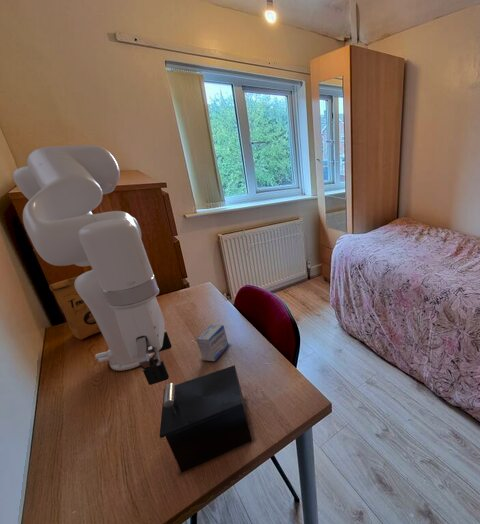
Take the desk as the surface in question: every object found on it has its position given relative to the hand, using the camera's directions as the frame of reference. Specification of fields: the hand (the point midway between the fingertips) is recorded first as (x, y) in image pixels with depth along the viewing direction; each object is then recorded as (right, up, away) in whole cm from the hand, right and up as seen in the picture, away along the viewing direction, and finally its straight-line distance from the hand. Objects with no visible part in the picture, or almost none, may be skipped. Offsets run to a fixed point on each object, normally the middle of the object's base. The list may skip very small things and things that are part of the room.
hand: (161, 364), depth 57 cm
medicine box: (-6, -9, +37) cm, 39 cm away
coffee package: (-57, -5, +49) cm, 76 cm away
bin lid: (+5, -10, +6) cm, 13 cm away
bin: (+6, -21, +12) cm, 24 cm away
